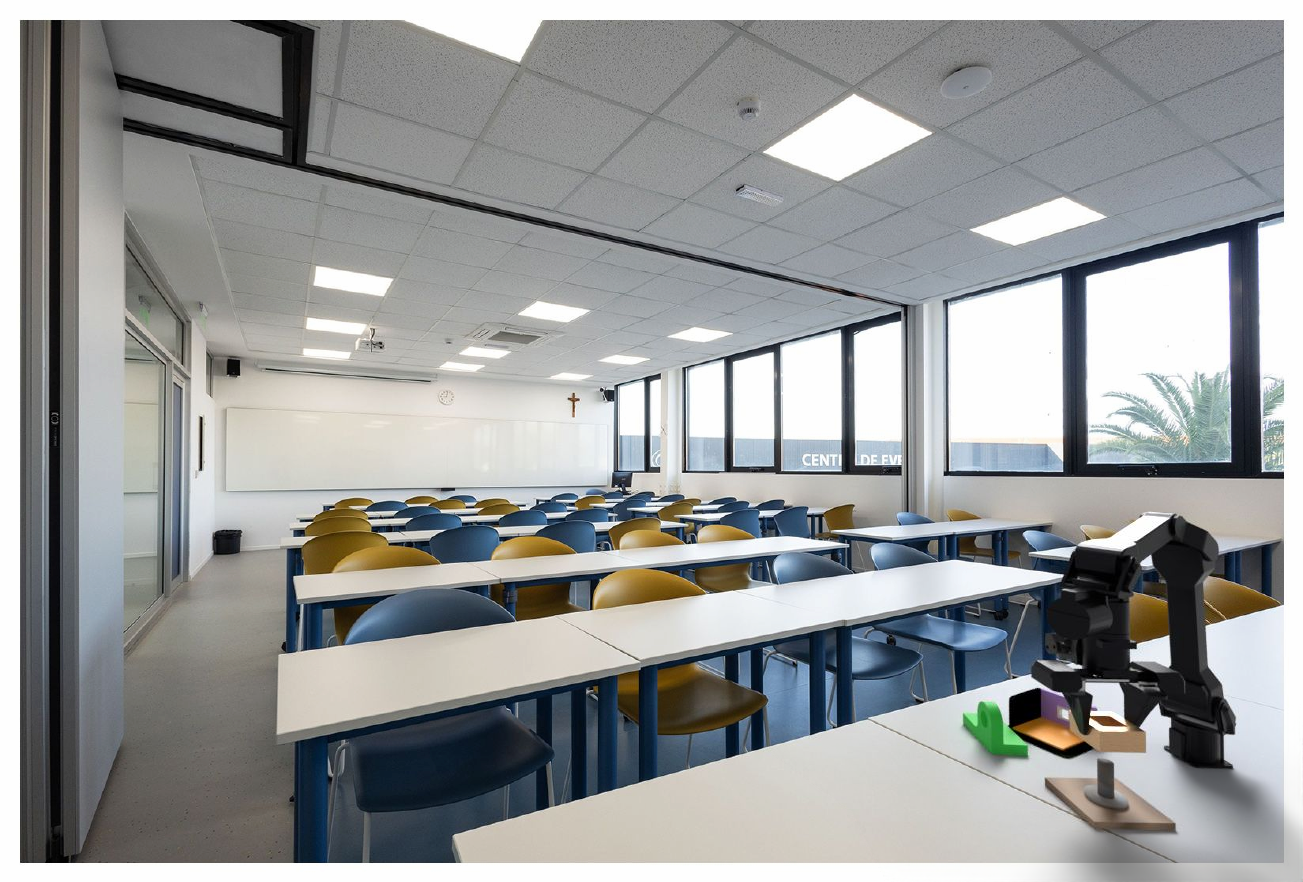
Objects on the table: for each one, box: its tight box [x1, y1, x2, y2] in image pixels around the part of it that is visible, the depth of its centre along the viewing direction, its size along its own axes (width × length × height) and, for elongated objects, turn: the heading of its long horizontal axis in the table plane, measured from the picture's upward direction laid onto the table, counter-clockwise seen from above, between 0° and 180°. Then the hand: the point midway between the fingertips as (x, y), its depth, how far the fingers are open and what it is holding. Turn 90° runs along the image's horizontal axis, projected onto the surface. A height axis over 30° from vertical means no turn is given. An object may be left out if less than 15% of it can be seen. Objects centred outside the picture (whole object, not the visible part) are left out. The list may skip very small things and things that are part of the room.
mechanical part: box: [962, 701, 1029, 757], centre depth 109 cm, size 12×6×8 cm, turn 174°
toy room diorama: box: [1007, 687, 1098, 759], centre depth 109 cm, size 12×12×7 cm
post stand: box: [1044, 757, 1177, 831], centre depth 88 cm, size 11×11×7 cm
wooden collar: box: [1070, 710, 1147, 754], centre depth 87 cm, size 6×6×3 cm
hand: (1106, 734), depth 87 cm, fingers closed on wooden collar, 6 cm apart
